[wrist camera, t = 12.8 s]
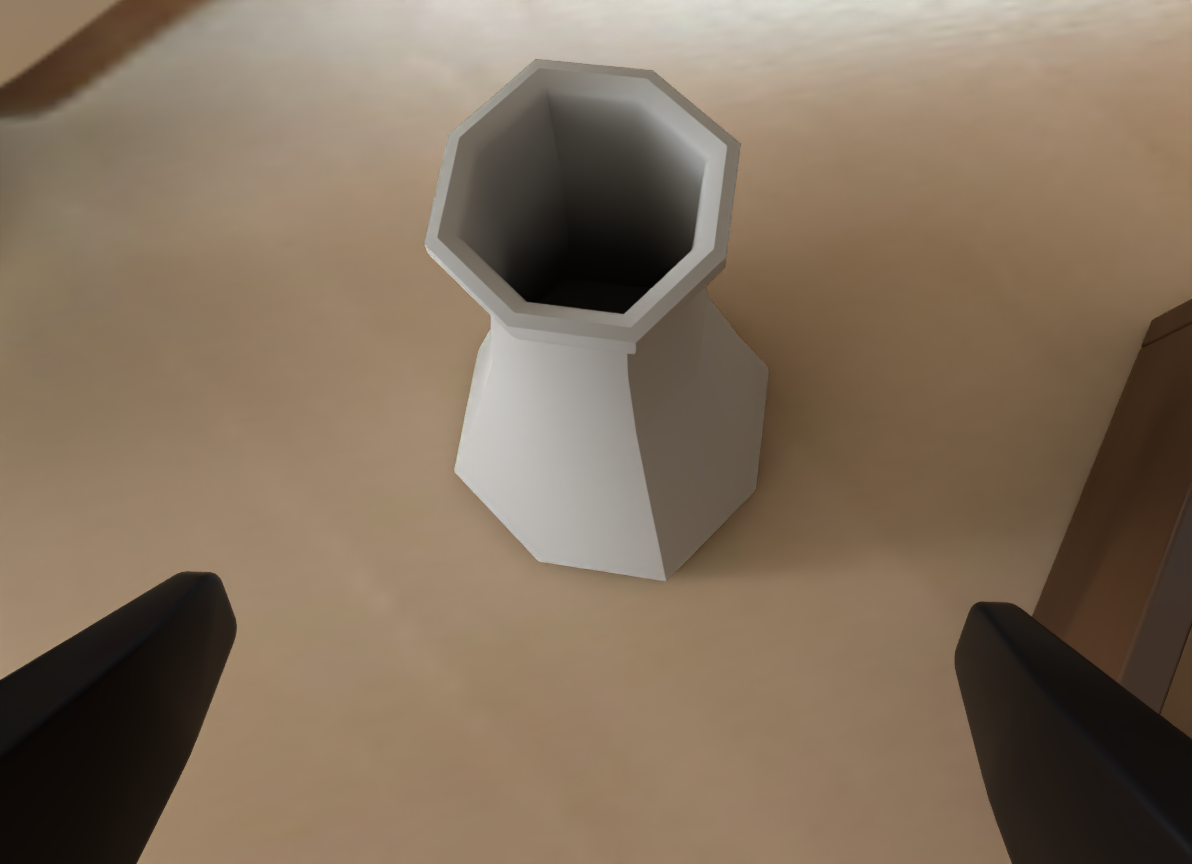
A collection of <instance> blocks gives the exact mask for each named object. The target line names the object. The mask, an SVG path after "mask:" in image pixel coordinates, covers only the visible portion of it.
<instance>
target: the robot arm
mask: <svg viewBox="0 0 1192 864" xmlns="http://www.w3.org/2000/svg"><path fill="white" fill-rule="evenodd" d="M236 630H237V624H236V618H235V615H234V612H233V610H232V607H231V604H230V602H229V599H228V596H227V594H226V591H225V589H224V586H223V583H222V581H221V579H220V578H219V577H218V576H217V575H216V574H215V573H211V572H191V571H186V572H181V573H178V574H176V575H174V576H172V577H171V578H169V579H167V580H166V581H164V582H162V583H161V584H159V585H157V586H156V587H154V588H152V589H151V590H149V591H147V592H146V593H144V594H142V595H141V596H139V597H137V598H136V599H134V600H132V601H131V602H129V603H127V604H126V605H124V606H122V607H121V608H119V609H117V610H116V611H114V612H112V613H111V614H109V615H108V616H106V617H104V618H103V619H101V620H99V621H98V622H96V623H94V624H93V625H91V626H89V627H88V628H86V629H84V630H83V631H81V632H79V633H78V634H76V635H74V636H73V637H71V638H69V639H68V640H66V641H64V642H63V643H61V644H59V645H58V646H56V647H54V648H53V649H51V650H49V651H48V652H46V653H44V654H43V655H41V656H39V657H38V658H36V659H34V660H33V661H31V662H29V663H28V664H26V665H24V666H23V667H21V668H19V669H18V670H16V671H14V672H13V673H11V674H9V675H8V676H6V677H4V678H3V679H1V680H0V864H137V862H138V860H139V858H140V856H141V854H142V852H143V850H144V848H145V846H146V844H147V842H148V840H149V838H150V836H151V834H152V832H153V830H154V828H155V826H156V824H157V822H158V820H159V818H160V816H161V814H162V812H163V810H164V808H165V806H166V804H167V802H168V800H169V798H170V796H171V794H172V792H173V790H174V788H175V786H176V784H177V782H178V780H179V778H180V776H181V774H182V771H183V769H184V767H185V765H186V763H187V761H188V759H189V757H190V754H191V752H192V750H193V747H194V745H195V742H196V740H197V738H198V735H199V732H200V730H201V727H202V725H203V722H204V719H205V717H206V714H207V711H208V709H209V706H210V703H211V701H212V698H213V696H214V693H215V690H216V688H217V685H218V682H219V680H220V677H221V675H222V672H223V669H224V667H225V664H226V661H227V659H228V656H229V654H230V651H231V648H232V646H233V643H234V640H235V636H236ZM955 670H956V675H957V679H958V682H959V686H960V690H961V694H962V698H963V702H964V706H965V710H966V714H967V718H968V722H969V726H970V730H971V734H972V738H973V742H974V746H975V749H976V753H977V757H978V761H979V765H980V769H981V773H982V777H983V781H984V784H985V788H986V791H987V795H988V798H989V801H990V804H991V807H992V810H993V813H994V816H995V819H996V822H997V824H998V827H999V830H1000V832H1001V835H1002V838H1003V841H1004V843H1005V846H1006V849H1007V851H1008V854H1009V857H1010V859H1011V862H1012V864H1192V739H1191V738H1189V737H1188V736H1187V735H1186V734H1184V733H1183V732H1182V731H1180V730H1179V729H1178V728H1176V727H1175V726H1174V725H1173V724H1171V723H1170V722H1169V721H1167V720H1166V719H1165V718H1163V717H1162V716H1161V715H1159V714H1158V713H1157V712H1156V711H1154V710H1153V709H1152V708H1150V707H1149V706H1148V705H1146V704H1145V703H1144V702H1142V701H1141V700H1140V699H1139V698H1137V697H1136V696H1135V695H1133V694H1132V693H1131V692H1129V691H1128V690H1127V689H1126V688H1124V687H1123V686H1122V685H1120V684H1119V683H1118V682H1116V681H1115V680H1114V679H1112V678H1111V677H1110V676H1109V675H1107V674H1106V673H1105V672H1103V671H1102V670H1101V669H1099V668H1098V667H1097V666H1095V665H1094V664H1093V663H1092V662H1090V661H1089V660H1088V659H1086V658H1085V657H1084V656H1082V655H1081V654H1080V653H1078V652H1077V651H1076V650H1075V649H1073V648H1072V647H1071V646H1069V645H1068V644H1067V643H1065V642H1064V641H1063V640H1062V639H1060V638H1059V637H1058V636H1056V635H1055V634H1054V633H1052V632H1051V631H1050V630H1048V629H1047V628H1046V627H1045V626H1043V625H1042V624H1041V623H1039V622H1038V621H1037V620H1035V619H1034V618H1033V617H1031V616H1030V615H1029V614H1028V613H1026V612H1025V611H1024V610H1022V609H1021V608H1019V607H1018V606H1016V605H1014V604H1011V603H1005V602H978V603H975V604H974V605H973V606H972V607H971V609H970V611H969V614H968V616H967V619H966V622H965V625H964V628H963V630H962V633H961V636H960V639H959V641H958V644H957V647H956V651H955Z"/></svg>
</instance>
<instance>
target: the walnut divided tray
mask: <svg viewBox="0 0 1192 864" xmlns="http://www.w3.org/2000/svg"><path fill="white" fill-rule="evenodd" d="M1032 617H1033V618H1034V619H1035V620H1037V621H1038V622H1039V623H1041V624H1042V625H1043V626H1045V627H1046V628H1047V629H1048V630H1050V631H1051V632H1052V633H1054V634H1055V635H1056V636H1058V637H1059V638H1060V639H1062V640H1063V641H1064V642H1065V643H1067V644H1068V645H1069V646H1071V647H1072V648H1073V649H1075V650H1076V651H1077V652H1078V653H1080V654H1081V655H1082V656H1084V657H1085V658H1086V659H1088V660H1089V661H1090V662H1092V663H1093V664H1094V665H1095V666H1097V667H1098V668H1099V669H1101V670H1102V671H1103V672H1105V673H1106V674H1107V675H1109V676H1110V677H1111V678H1112V679H1114V680H1115V681H1116V682H1118V683H1119V684H1120V685H1122V686H1123V687H1124V688H1126V689H1127V690H1128V691H1129V692H1131V693H1132V694H1133V695H1135V696H1136V697H1137V698H1139V699H1140V700H1141V701H1142V702H1144V703H1145V704H1146V705H1148V706H1149V707H1150V708H1152V709H1153V710H1154V711H1156V712H1157V713H1158V714H1159V715H1160V713H1161V710H1162V708H1163V705H1164V702H1165V699H1166V696H1167V694H1168V691H1169V688H1170V685H1171V683H1172V680H1173V677H1174V674H1175V672H1176V669H1177V666H1178V663H1179V660H1180V658H1181V655H1182V652H1183V649H1184V647H1185V644H1186V641H1187V638H1188V636H1189V633H1190V630H1191V627H1192V299H1190V300H1188V301H1187V302H1185V303H1183V304H1181V305H1179V306H1177V307H1175V308H1174V309H1172V310H1170V311H1168V312H1166V313H1164V314H1162V315H1161V316H1159V317H1157V318H1155V319H1153V320H1152V321H1151V324H1150V326H1149V329H1148V331H1147V334H1146V336H1145V338H1144V341H1143V343H1142V349H1141V350H1140V351H1139V354H1138V356H1137V359H1136V361H1135V364H1134V366H1133V368H1132V371H1131V373H1130V376H1129V378H1128V381H1127V383H1126V386H1125V388H1124V391H1123V393H1122V396H1121V398H1120V401H1119V403H1118V406H1117V408H1116V411H1115V413H1114V415H1113V418H1112V420H1111V423H1110V425H1109V428H1108V430H1107V433H1106V435H1105V438H1104V440H1103V443H1102V445H1101V448H1100V450H1099V453H1098V455H1097V458H1096V460H1095V463H1094V465H1093V467H1092V470H1091V472H1090V475H1089V477H1088V480H1087V482H1086V485H1085V487H1084V490H1083V492H1082V495H1081V497H1080V500H1079V502H1078V505H1077V507H1076V510H1075V512H1074V514H1073V517H1072V519H1071V522H1070V524H1069V527H1068V529H1067V532H1066V534H1065V537H1064V539H1063V542H1062V544H1061V547H1060V549H1059V552H1058V554H1057V557H1056V559H1055V561H1054V564H1053V566H1052V569H1051V571H1050V574H1049V576H1048V579H1047V581H1046V584H1045V586H1044V589H1043V591H1042V594H1041V596H1040V599H1039V601H1038V604H1037V606H1036V609H1035V611H1034V613H1033V616H1032Z"/></svg>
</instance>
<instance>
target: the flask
mask: <svg viewBox="0 0 1192 864" xmlns="http://www.w3.org/2000/svg"><path fill="white" fill-rule="evenodd" d="M740 146H741V143H739V142H738V141H737V140H736V139H735V138H733V137H732V136H731V135H730V134H729V133H727V132H726V131H725V130H724V129H723V128H721V127H720V126H719V125H718V124H717V123H715V122H714V121H713V120H712V119H711V118H709V117H708V116H707V115H706V114H705V113H703V112H702V111H701V110H700V109H699V108H697V107H696V106H695V105H694V104H693V103H691V102H690V101H689V100H688V99H687V98H685V97H684V96H683V95H682V94H681V93H679V92H678V91H677V90H676V89H675V88H673V87H672V86H671V85H670V84H669V83H667V82H666V81H665V80H664V79H663V78H661V77H660V76H659V75H658V74H657V73H655V72H654V71H653V70H644V69H633V68H623V67H613V66H603V65H592V64H582V63H572V62H561V61H551V60H541V59H535V60H534V61H533V62H532V63H531V64H529V65H528V66H527V67H526V68H525V69H524V70H522V71H521V72H520V73H519V74H518V75H517V76H516V77H514V78H513V79H512V80H511V81H510V82H509V83H507V84H506V85H505V86H504V87H503V88H502V89H500V90H499V91H498V92H497V93H496V94H495V95H494V96H492V97H491V98H490V99H489V100H488V101H487V102H485V103H484V104H483V105H482V106H481V107H480V108H479V109H477V110H476V111H475V112H474V113H473V114H472V115H470V116H469V117H468V118H467V119H466V120H465V121H464V122H462V123H461V124H460V125H459V126H458V127H457V128H455V129H454V130H453V131H452V132H451V133H450V134H449V135H448V139H447V144H446V148H445V152H444V157H443V161H442V166H441V170H440V175H439V179H438V184H437V188H436V193H435V197H434V201H433V206H432V210H431V215H430V219H429V224H428V228H427V233H426V237H425V242H424V245H425V247H426V249H427V252H428V254H429V255H430V256H431V257H432V258H433V259H434V260H435V261H436V262H437V263H438V264H439V265H440V266H441V267H442V268H443V269H444V270H445V271H446V272H447V273H448V274H449V275H450V276H451V277H452V278H453V279H454V280H455V281H456V282H457V283H458V284H459V285H460V286H461V287H462V288H463V289H464V290H465V291H466V292H467V293H468V294H469V295H470V296H471V297H472V298H473V299H475V300H476V301H477V302H478V303H479V304H480V305H481V306H482V307H483V308H484V309H485V310H486V311H487V312H488V313H489V314H490V319H491V329H490V331H489V332H488V334H487V336H486V338H485V339H484V341H483V343H482V345H481V346H480V349H479V351H478V354H477V359H476V363H475V368H474V373H473V378H472V383H471V388H470V393H469V398H468V403H467V408H466V413H465V418H464V423H463V428H462V433H461V438H460V443H459V448H458V453H457V458H456V463H455V468H454V472H455V473H456V474H457V475H458V476H459V477H460V478H461V480H462V481H463V482H464V483H465V484H466V485H467V486H468V487H469V488H470V489H471V490H472V491H473V492H474V493H475V494H476V495H477V497H478V498H479V499H480V500H481V501H482V502H483V503H484V504H485V505H486V506H487V507H488V508H489V509H490V510H491V511H492V513H493V514H494V515H495V516H496V517H497V518H498V519H499V520H500V521H501V522H502V523H503V524H504V525H505V526H506V527H507V528H508V530H509V531H510V532H511V533H512V534H513V535H514V536H515V537H516V538H517V539H518V540H519V541H520V542H521V543H522V544H523V545H524V547H525V548H526V549H527V550H528V551H529V552H530V553H531V554H532V555H533V556H534V557H535V558H536V559H537V560H538V561H539V562H546V563H552V564H558V565H565V566H571V567H577V568H584V569H590V570H596V571H603V572H609V573H616V574H622V575H628V576H635V577H641V578H647V579H654V580H660V581H667V580H668V579H669V578H670V577H671V576H672V575H673V574H674V573H675V572H676V571H677V570H678V569H679V568H680V567H681V566H682V565H683V564H684V563H685V562H686V561H687V560H688V559H689V558H690V557H691V556H692V555H693V554H694V553H695V552H696V551H697V550H698V549H699V548H700V547H701V546H702V545H703V544H704V543H705V542H706V541H707V540H708V539H709V538H710V537H711V536H712V535H713V534H714V533H715V531H716V530H717V529H718V528H719V527H720V526H721V525H722V524H723V523H724V522H725V521H726V520H727V519H728V518H729V517H730V516H731V515H732V514H733V513H734V512H735V511H736V510H737V509H738V508H739V507H740V506H741V505H742V504H743V503H744V502H745V501H746V500H747V499H748V498H749V497H750V496H751V495H752V494H753V493H754V492H755V491H756V486H757V477H758V468H759V458H760V449H761V440H762V431H763V422H764V413H765V403H766V394H767V385H768V376H769V369H768V367H767V366H766V365H765V363H764V362H763V361H762V360H761V359H760V358H759V357H758V356H757V355H756V354H755V352H754V351H753V350H752V349H751V348H750V347H749V346H748V345H747V344H746V343H745V342H744V341H743V340H742V339H741V338H740V337H739V336H738V334H737V333H736V332H735V330H734V329H733V328H732V326H731V325H730V324H729V322H728V321H727V320H726V318H725V317H724V316H723V314H722V313H721V312H720V310H719V309H718V308H717V306H716V305H715V304H714V302H713V301H712V300H711V298H710V297H709V296H708V293H707V288H706V286H707V285H708V284H709V283H710V282H711V281H712V280H713V279H714V278H715V277H716V276H717V275H718V274H719V273H720V272H721V271H722V270H723V269H724V268H725V264H726V257H727V249H728V241H729V233H730V225H731V217H732V210H733V202H734V194H735V186H736V178H737V170H738V162H739V154H740Z"/></svg>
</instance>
